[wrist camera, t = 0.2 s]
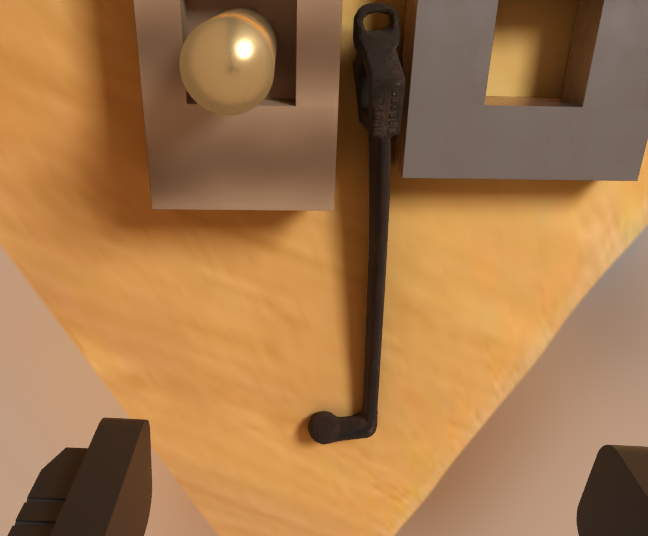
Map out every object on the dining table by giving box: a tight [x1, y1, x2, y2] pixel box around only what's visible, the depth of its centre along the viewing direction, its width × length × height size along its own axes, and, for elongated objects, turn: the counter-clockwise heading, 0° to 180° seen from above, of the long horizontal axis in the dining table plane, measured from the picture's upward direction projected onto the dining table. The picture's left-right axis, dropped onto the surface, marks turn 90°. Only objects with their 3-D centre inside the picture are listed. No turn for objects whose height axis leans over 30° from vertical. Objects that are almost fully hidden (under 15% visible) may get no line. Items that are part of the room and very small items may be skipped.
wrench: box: [308, 4, 405, 444], centre depth 39 cm, size 5×5×30 cm
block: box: [394, 0, 648, 181], centre depth 35 cm, size 14×14×3 cm
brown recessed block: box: [133, 0, 342, 211], centre depth 33 cm, size 17×10×4 cm, turn 178°
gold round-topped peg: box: [179, 7, 277, 116], centre depth 28 cm, size 4×4×10 cm
